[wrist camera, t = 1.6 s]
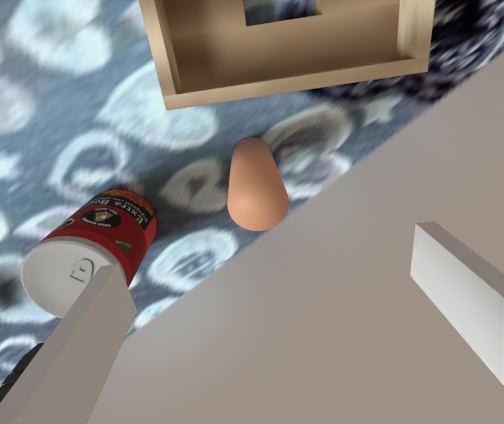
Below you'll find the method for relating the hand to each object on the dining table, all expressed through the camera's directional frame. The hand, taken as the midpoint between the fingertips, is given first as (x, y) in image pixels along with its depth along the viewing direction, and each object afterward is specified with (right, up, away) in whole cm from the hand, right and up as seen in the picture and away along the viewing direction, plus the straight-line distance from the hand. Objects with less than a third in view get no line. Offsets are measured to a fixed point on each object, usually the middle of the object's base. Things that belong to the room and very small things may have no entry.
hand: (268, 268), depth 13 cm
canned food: (-15, +2, +20) cm, 25 cm away
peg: (-1, +8, +17) cm, 19 cm away
